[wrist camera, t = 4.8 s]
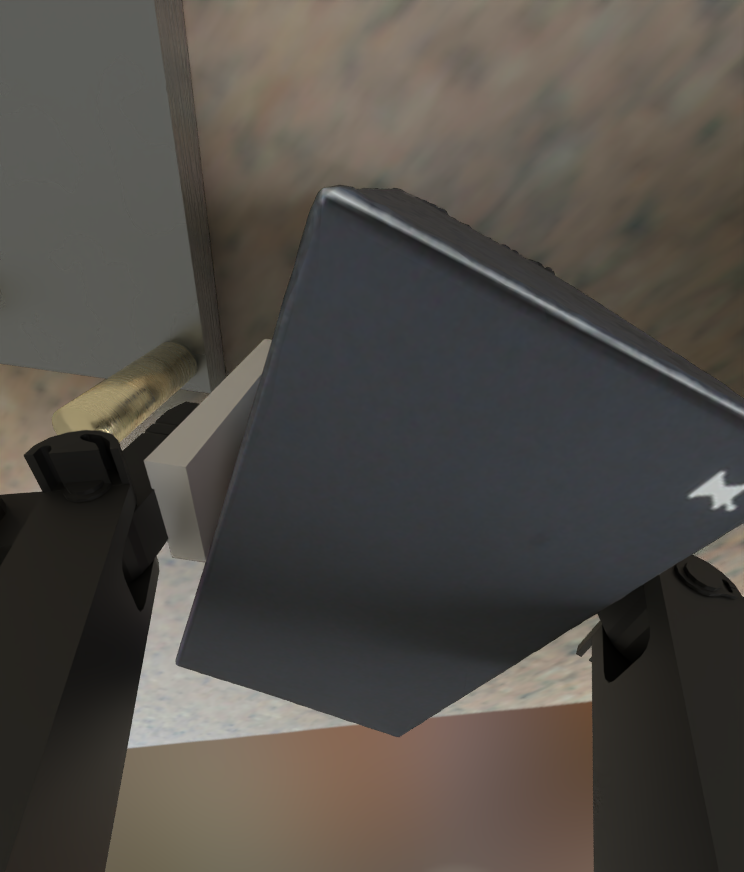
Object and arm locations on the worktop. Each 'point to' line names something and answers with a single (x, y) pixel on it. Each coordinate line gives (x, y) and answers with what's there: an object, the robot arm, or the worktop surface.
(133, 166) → the chassis
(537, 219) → the worktop surface
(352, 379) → the small box
